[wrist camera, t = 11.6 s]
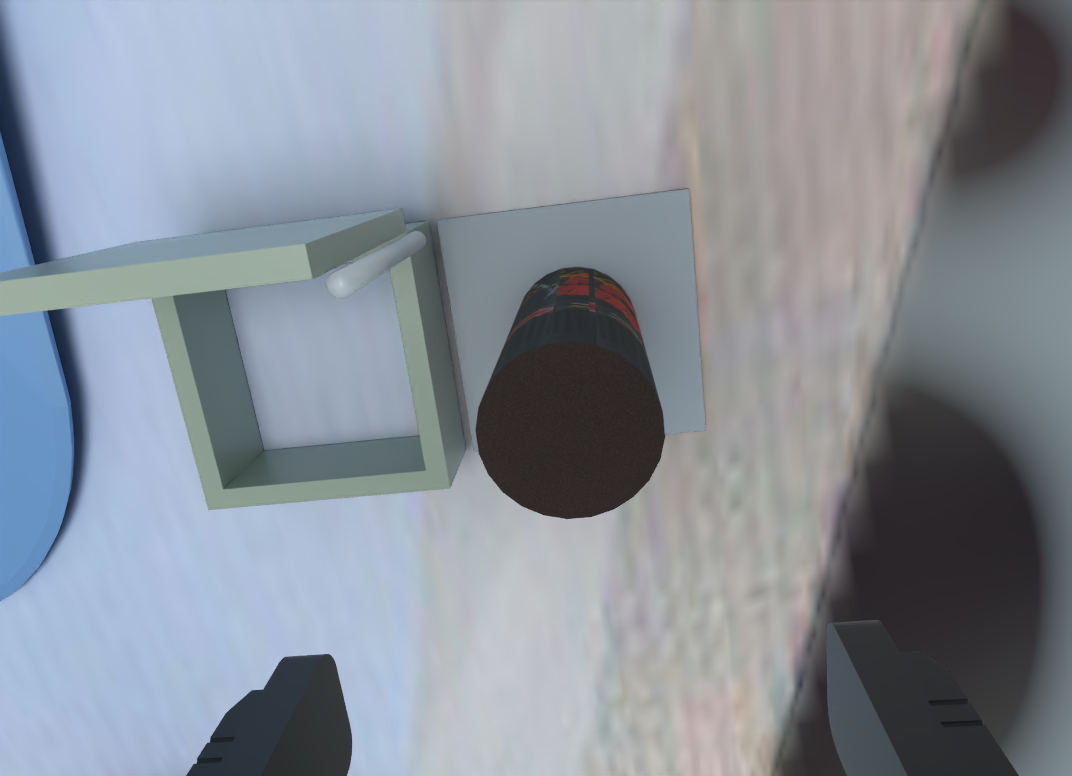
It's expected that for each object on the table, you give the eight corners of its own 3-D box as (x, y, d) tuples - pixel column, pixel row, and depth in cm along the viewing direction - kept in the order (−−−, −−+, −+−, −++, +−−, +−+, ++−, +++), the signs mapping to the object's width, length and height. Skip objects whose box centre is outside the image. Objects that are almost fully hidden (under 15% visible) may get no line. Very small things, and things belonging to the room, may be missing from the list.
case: (190, 229, 40) (-85, 291, 24) (441, 197, 38) (332, 240, 22) (250, 469, 43) (48, 665, 27) (480, 447, 42) (411, 639, 26)
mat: (439, 219, 39) (436, 220, 38) (687, 188, 38) (689, 189, 37) (475, 448, 42) (473, 452, 42) (704, 426, 41) (705, 430, 40)
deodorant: (648, 369, 40) (682, 498, 25) (533, 395, 40) (502, 534, 26) (622, 253, 38) (642, 321, 24) (502, 282, 39) (452, 365, 25)
